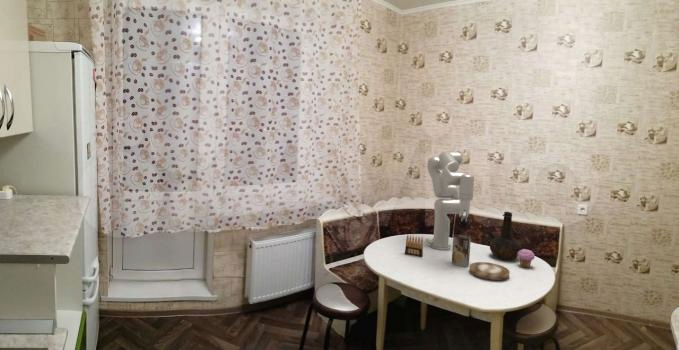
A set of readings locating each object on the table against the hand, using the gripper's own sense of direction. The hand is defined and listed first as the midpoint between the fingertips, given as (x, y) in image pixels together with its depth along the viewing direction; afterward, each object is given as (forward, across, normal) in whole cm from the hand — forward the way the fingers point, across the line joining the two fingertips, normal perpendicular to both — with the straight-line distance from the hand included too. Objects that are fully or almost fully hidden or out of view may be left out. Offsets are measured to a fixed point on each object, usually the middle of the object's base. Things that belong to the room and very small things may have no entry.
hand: (463, 226), depth 225 cm
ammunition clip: (+22, -5, -27) cm, 35 cm away
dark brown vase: (+22, -24, +25) cm, 41 cm away
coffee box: (+22, -1, 0) cm, 22 cm away
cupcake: (+22, -12, +35) cm, 43 cm away
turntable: (+22, +9, +15) cm, 28 cm away
